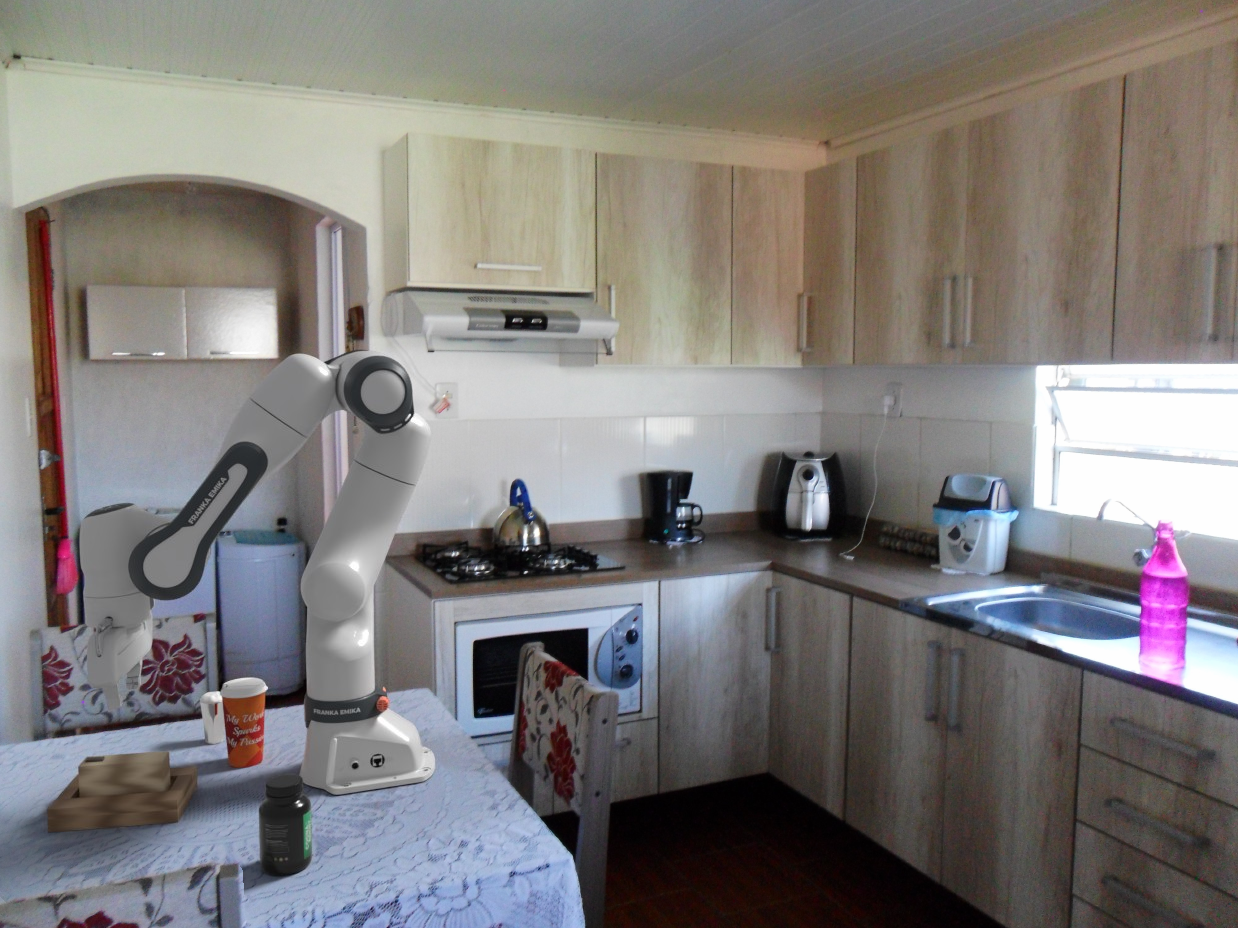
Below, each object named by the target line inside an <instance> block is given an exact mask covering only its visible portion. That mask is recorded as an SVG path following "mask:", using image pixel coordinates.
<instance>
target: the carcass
mask: <svg viewBox="0 0 1238 928" xmlns="http://www.w3.org/2000/svg"><path fill="white" fill-rule="evenodd" d="M170 783H171V788H170V789H169V791H163V792H150V793H136V794H123V795H109V796H96V797H82V798H80V793H79V774H78V773H77V774H76V775H75V776H74V777H73V779H71V781H70V782H69V783H68V784H67V786H66V787H65V788H64V789H63V790H62V791H61V793H60V794H59V795H58V796H57V797H56V798H55V800H54V801H52V803H51V804H50V805H49V806H48V808H47V809H46V819H47V821H46V822H47V833H55V832H56V833H57V832H58V833H59V832H69V831H80V830H81V831H82V830H83V831H84V830H94V829H97V830H98V829H106V828H107V829H108V828H120V827H131V826H132V827H133V826H144V825H157V824H158V825H159V824H169V823H178V822H179V821H180V820H181V818H182V815H184V812H185V810H186V808H187V807H188V805H189V803H190V801H191V799H192V798H193V795H194V794H195V792H196V791H197V789H198V786H199V785H198V766H197V765H191V766H177V767H176V766H175V767H170Z"/></svg>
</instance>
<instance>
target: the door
mask: <svg viewBox="0 0 1238 928" xmlns="http://www.w3.org/2000/svg"><path fill="white" fill-rule="evenodd" d="M170 759H171V758H170V750H161V751H148V752H134V753H132V752H131V753H122V754H121V753H119V754H106V755H90V756H88V755H87V756H85V758H84V759H83V760H82V761H81V762H80V764H79V765H78V767H77V769H78V771H77V774H79V793H80V798H82V797H96V796H109V795H123V794H136V793H150V792H163V791H169V789H170V788H171V783H170V768H171V766H170V765H171V764H170V762H171V761H170Z"/></svg>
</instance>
